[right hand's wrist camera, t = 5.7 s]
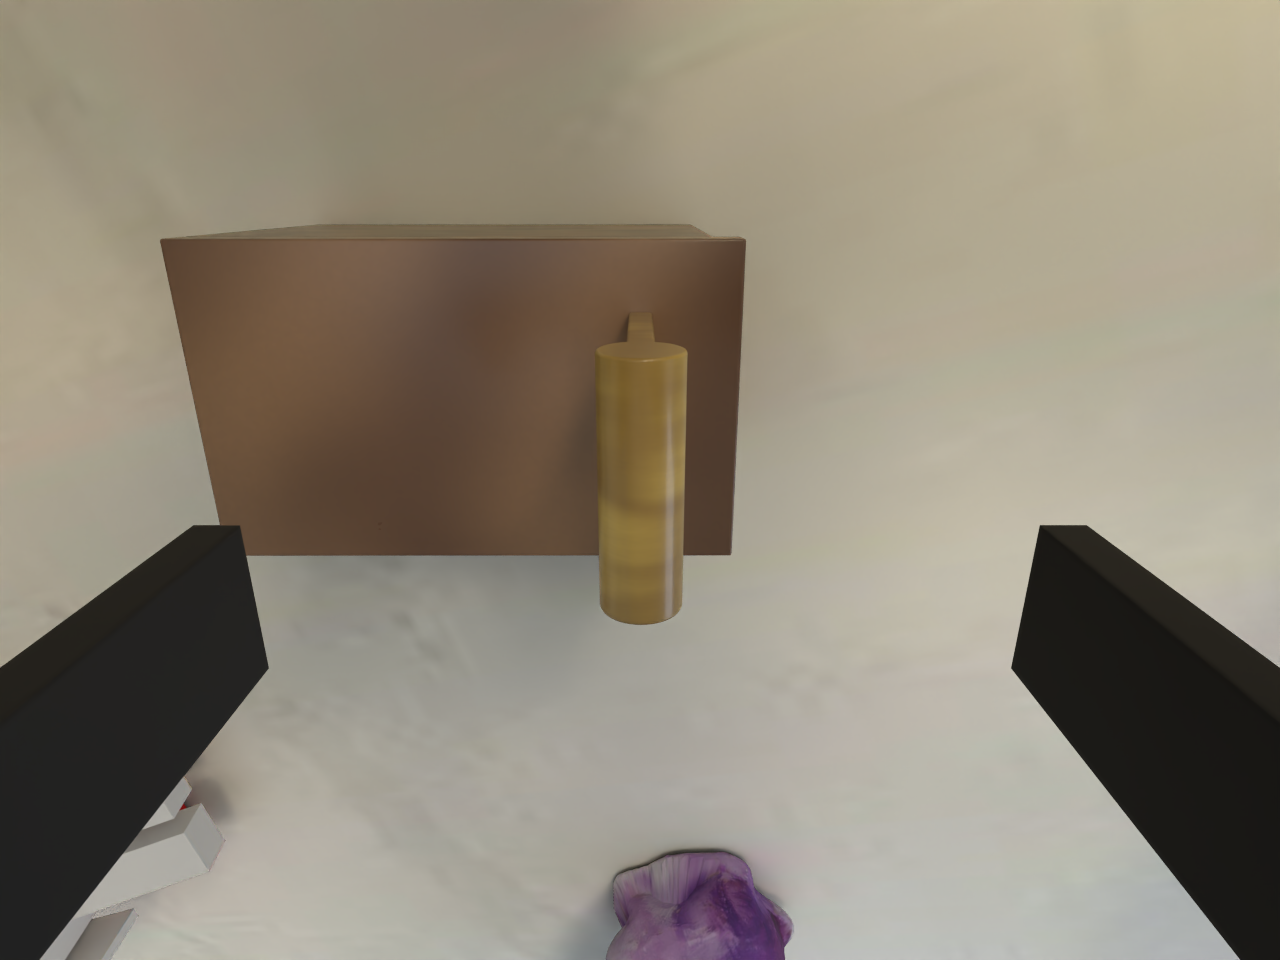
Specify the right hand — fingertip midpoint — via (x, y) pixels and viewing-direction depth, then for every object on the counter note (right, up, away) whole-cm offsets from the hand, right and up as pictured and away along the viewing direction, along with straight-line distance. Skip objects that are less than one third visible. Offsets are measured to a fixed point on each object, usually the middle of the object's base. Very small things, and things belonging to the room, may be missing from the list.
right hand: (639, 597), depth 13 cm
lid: (-5, +5, +12) cm, 14 cm away
